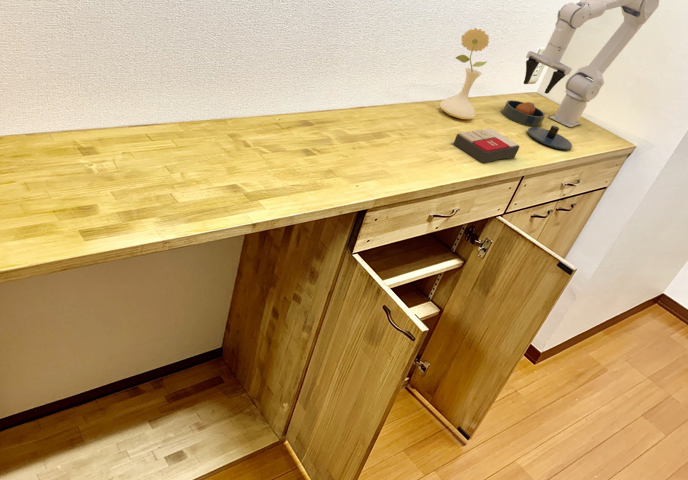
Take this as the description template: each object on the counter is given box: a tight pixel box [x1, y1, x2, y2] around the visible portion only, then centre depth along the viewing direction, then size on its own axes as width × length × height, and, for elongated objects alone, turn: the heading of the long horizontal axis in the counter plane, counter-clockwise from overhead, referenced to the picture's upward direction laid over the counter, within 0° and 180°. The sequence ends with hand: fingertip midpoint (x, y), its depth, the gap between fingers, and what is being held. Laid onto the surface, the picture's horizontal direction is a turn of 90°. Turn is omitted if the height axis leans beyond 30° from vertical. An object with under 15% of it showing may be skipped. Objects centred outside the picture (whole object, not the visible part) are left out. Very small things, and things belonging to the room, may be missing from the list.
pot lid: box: [527, 125, 573, 150], centre depth 177 cm, size 14×14×4 cm
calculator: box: [452, 128, 520, 164], centre depth 157 cm, size 11×4×15 cm
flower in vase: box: [439, 27, 490, 120], centre depth 171 cm, size 13×11×25 cm
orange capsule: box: [515, 101, 536, 115], centre depth 189 cm, size 9×5×5 cm, turn 135°
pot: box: [501, 99, 546, 128], centre depth 190 cm, size 13×13×3 cm
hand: (535, 88), depth 185 cm, fingers open, 7 cm apart
